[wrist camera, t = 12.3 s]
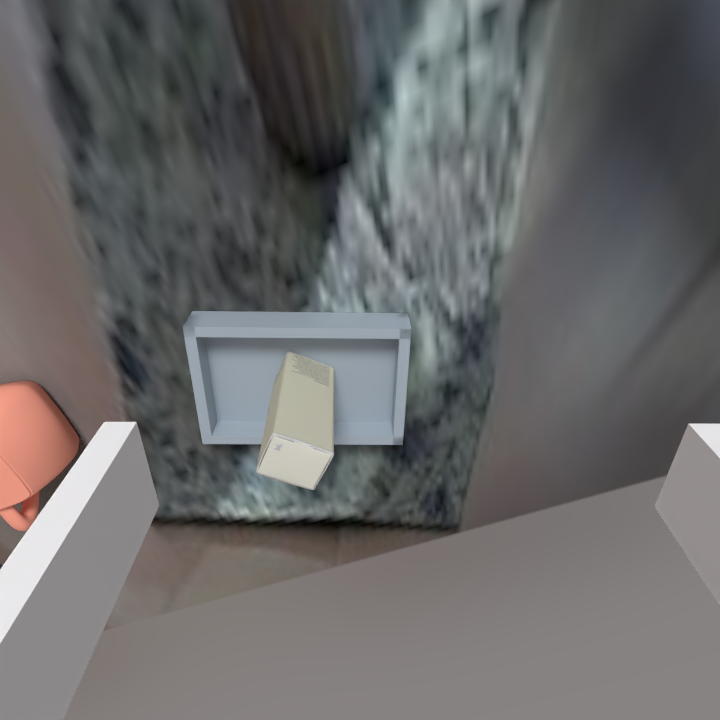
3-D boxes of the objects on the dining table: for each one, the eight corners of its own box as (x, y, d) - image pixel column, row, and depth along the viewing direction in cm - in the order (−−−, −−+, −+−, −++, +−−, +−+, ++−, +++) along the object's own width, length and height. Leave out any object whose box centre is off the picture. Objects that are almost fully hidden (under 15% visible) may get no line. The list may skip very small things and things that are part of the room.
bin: (192, 311, 47) (182, 326, 45) (407, 313, 48) (411, 328, 45) (210, 424, 54) (202, 444, 51) (399, 424, 54) (402, 444, 51)
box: (272, 383, 51) (249, 473, 39) (288, 348, 49) (269, 431, 37) (321, 401, 52) (313, 493, 40) (339, 367, 50) (335, 454, 39)
